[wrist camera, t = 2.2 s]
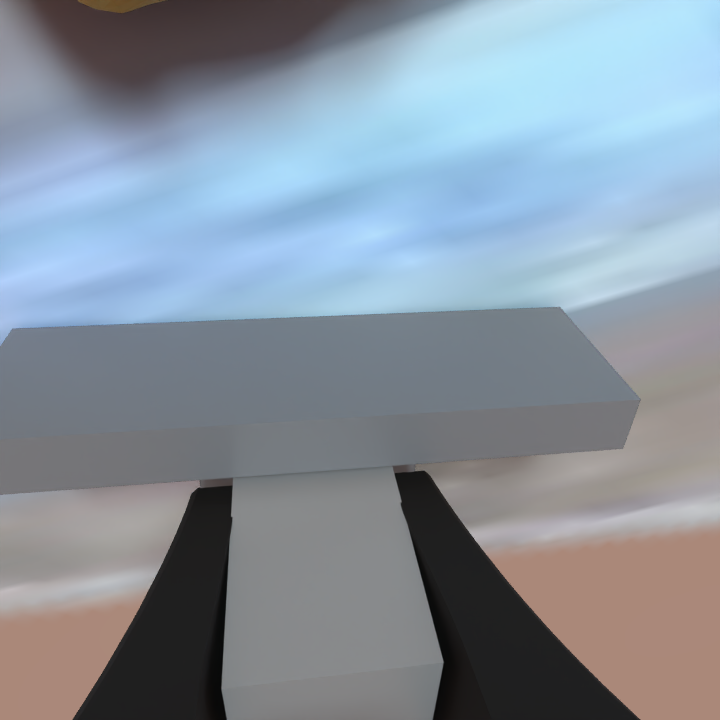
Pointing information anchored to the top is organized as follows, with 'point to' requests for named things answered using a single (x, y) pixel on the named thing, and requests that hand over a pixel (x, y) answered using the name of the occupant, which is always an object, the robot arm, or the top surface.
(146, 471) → the pusher
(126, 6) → the pastry
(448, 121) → the top surface
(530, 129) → the top surface
